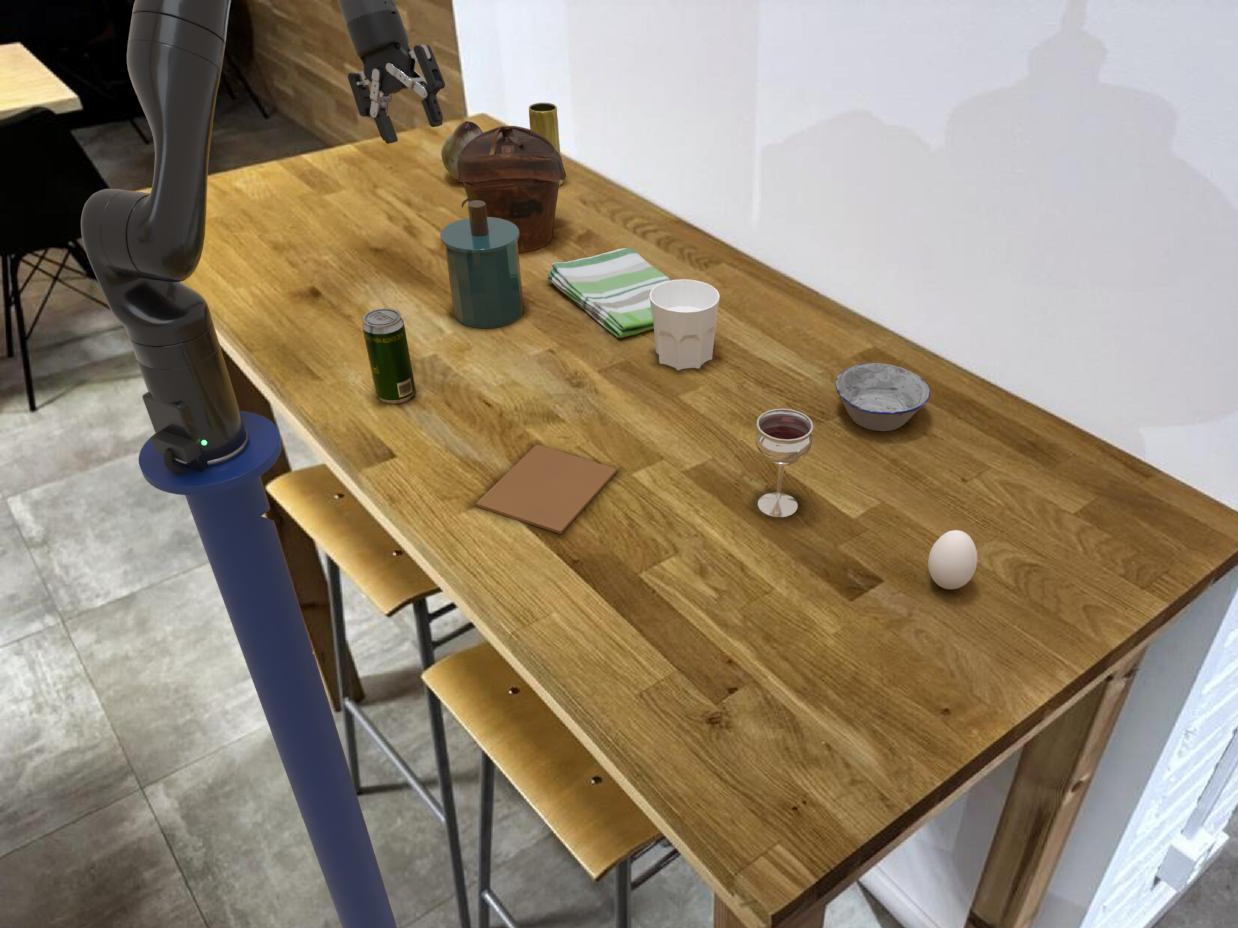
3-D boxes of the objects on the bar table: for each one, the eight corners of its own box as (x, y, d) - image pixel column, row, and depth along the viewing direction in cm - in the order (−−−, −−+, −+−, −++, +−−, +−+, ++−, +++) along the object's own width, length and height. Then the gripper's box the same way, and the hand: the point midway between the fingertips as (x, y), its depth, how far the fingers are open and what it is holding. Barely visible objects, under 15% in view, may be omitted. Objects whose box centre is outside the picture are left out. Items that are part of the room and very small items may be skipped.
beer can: (424, 391, 150) (411, 314, 143) (397, 409, 147) (382, 331, 139) (395, 380, 152) (381, 303, 145) (368, 397, 149) (351, 320, 141)
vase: (525, 182, 208) (519, 107, 199) (547, 173, 212) (542, 99, 203) (549, 190, 205) (543, 115, 196) (570, 181, 209) (566, 106, 200)
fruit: (462, 193, 203) (454, 129, 195) (433, 178, 208) (424, 115, 200) (506, 179, 209) (499, 116, 201) (476, 165, 214) (469, 103, 206)
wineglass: (753, 522, 130) (758, 441, 123) (748, 488, 136) (753, 408, 128) (808, 521, 131) (817, 440, 123) (801, 487, 136) (809, 408, 128)
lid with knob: (491, 263, 155) (487, 226, 151) (425, 247, 158) (419, 210, 155) (534, 233, 163) (531, 197, 159) (470, 218, 167) (466, 182, 163)
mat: (561, 534, 128) (560, 531, 127) (476, 506, 131) (475, 503, 131) (617, 471, 137) (617, 468, 137) (536, 447, 141) (536, 444, 141)
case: (521, 206, 199) (512, 107, 188) (591, 240, 189) (586, 138, 178) (440, 233, 189) (425, 131, 178) (510, 271, 179) (499, 165, 168)
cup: (709, 336, 165) (711, 277, 158) (723, 370, 157) (726, 309, 151) (645, 341, 163) (644, 281, 156) (656, 376, 155) (656, 314, 149)
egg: (931, 563, 126) (942, 513, 121) (975, 577, 124) (988, 526, 119) (917, 591, 122) (928, 540, 117) (963, 606, 120) (976, 555, 115)
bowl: (881, 453, 142) (885, 422, 139) (812, 411, 150) (816, 381, 147) (943, 419, 149) (949, 389, 146) (875, 380, 156) (879, 351, 153)
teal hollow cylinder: (499, 334, 163) (490, 257, 155) (440, 318, 166) (429, 242, 158) (536, 305, 171) (529, 230, 163) (479, 290, 174) (470, 216, 166)
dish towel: (633, 259, 184) (633, 239, 182) (711, 313, 170) (712, 293, 168) (545, 283, 176) (543, 263, 174) (619, 343, 162) (618, 322, 160)
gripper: (316, 32, 150) (361, 151, 155) (393, -2, 144) (437, 122, 149) (351, 31, 156) (393, 145, 162) (426, -2, 150) (467, 118, 155)
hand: (414, 134), depth 155 cm, fingers open, 8 cm apart
